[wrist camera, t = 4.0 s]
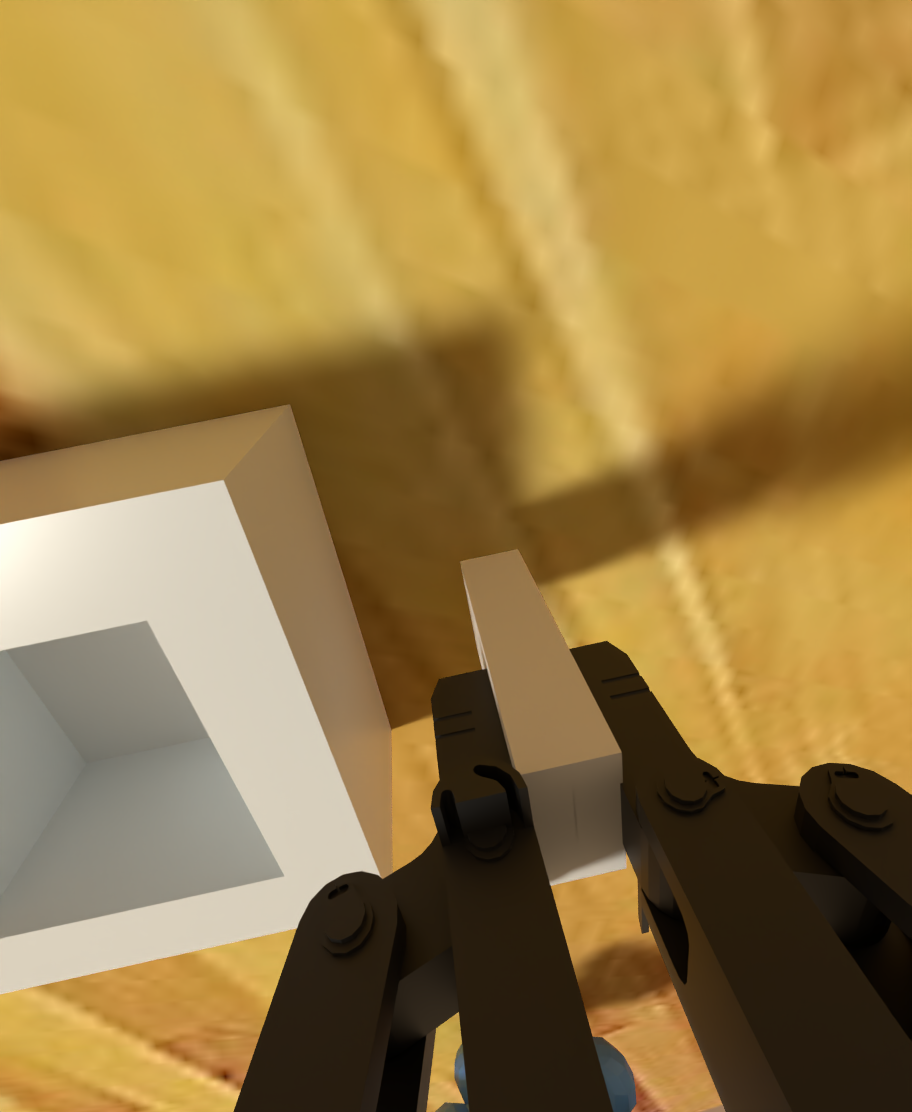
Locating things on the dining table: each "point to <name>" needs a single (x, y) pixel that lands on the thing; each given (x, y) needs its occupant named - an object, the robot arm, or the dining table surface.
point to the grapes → (612, 1069)
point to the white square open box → (177, 700)
